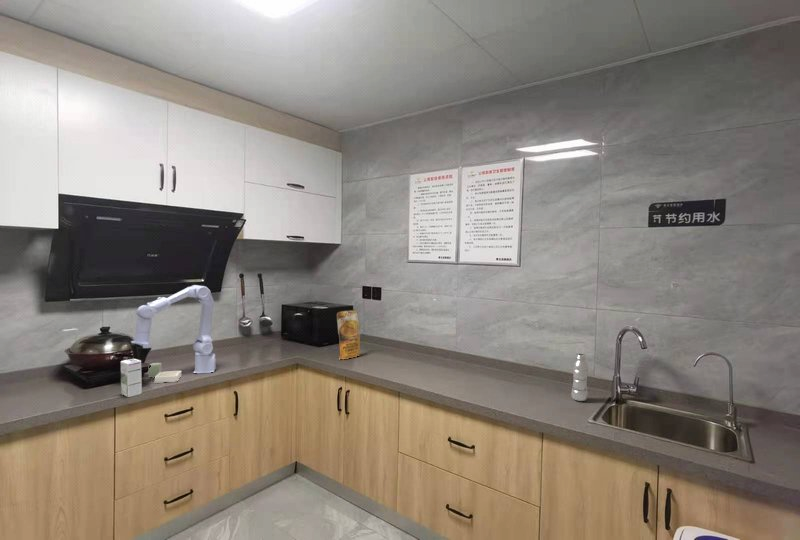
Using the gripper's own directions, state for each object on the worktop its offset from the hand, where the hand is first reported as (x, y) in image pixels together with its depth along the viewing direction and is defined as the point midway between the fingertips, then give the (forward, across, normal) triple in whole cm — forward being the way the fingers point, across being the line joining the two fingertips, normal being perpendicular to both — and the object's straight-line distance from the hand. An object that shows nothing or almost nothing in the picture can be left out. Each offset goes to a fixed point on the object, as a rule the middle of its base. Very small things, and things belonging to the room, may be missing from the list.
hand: (138, 361), depth 184 cm
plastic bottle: (-4, +150, +128) cm, 197 cm away
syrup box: (+11, +13, -5) cm, 18 cm away
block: (+9, -8, +10) cm, 16 cm away
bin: (+9, +2, +13) cm, 16 cm away
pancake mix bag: (-1, +26, +102) cm, 105 cm away
